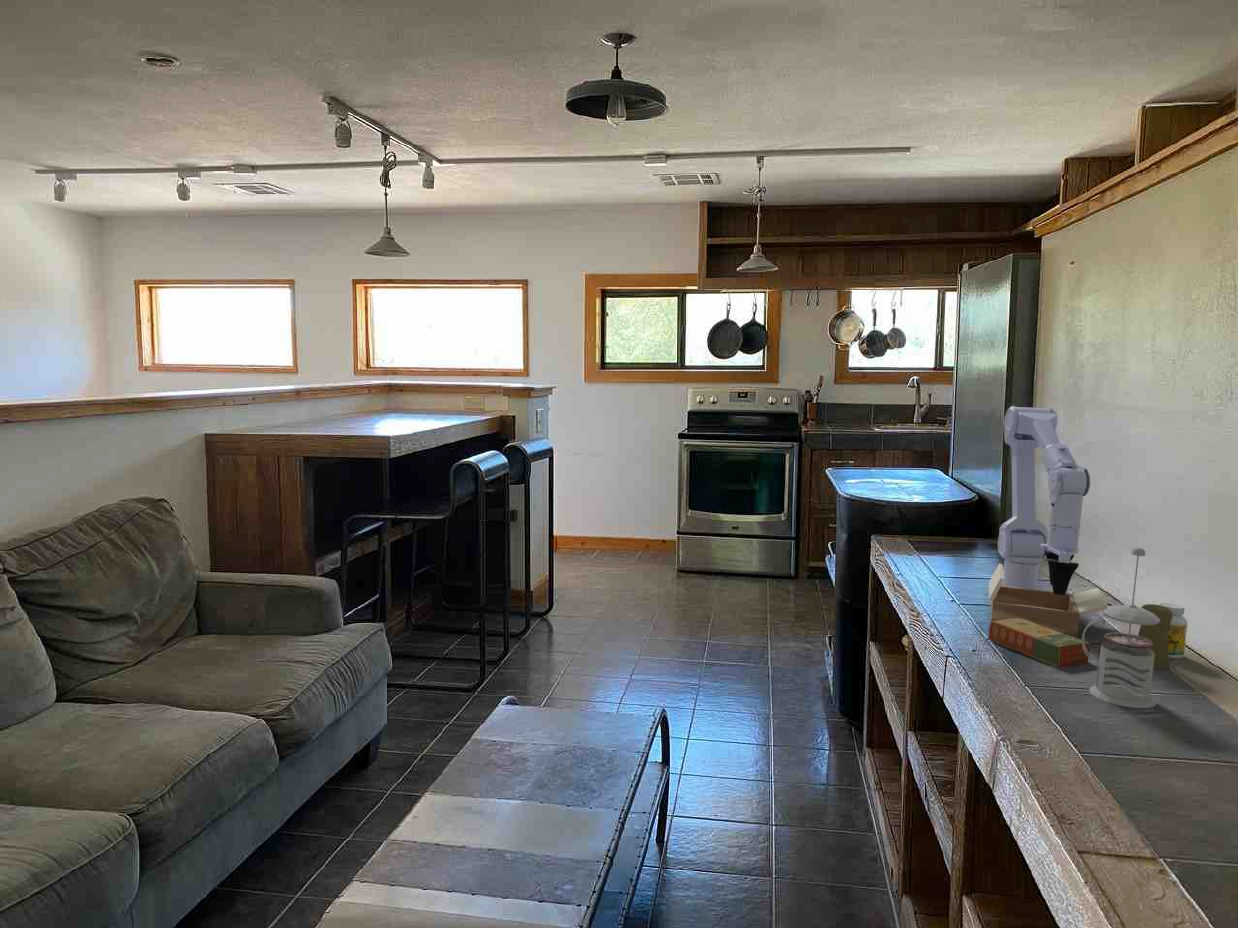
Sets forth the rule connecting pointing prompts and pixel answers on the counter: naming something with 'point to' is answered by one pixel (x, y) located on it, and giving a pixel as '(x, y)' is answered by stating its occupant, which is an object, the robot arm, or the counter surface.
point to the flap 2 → (1090, 601)
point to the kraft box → (1037, 608)
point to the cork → (1158, 635)
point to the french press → (1125, 657)
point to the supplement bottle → (1176, 631)
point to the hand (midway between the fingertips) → (1057, 589)
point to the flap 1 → (996, 582)
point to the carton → (1038, 642)
